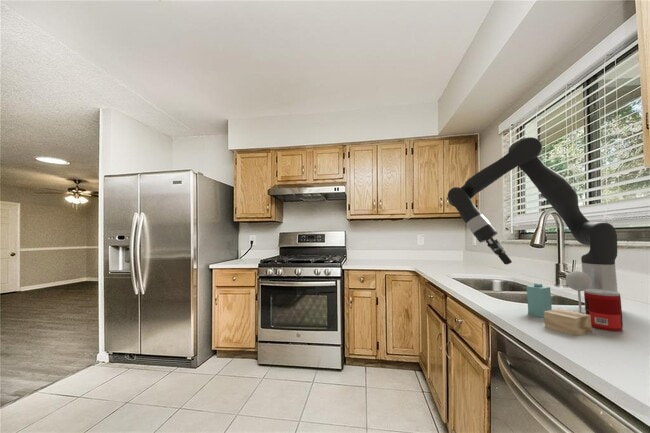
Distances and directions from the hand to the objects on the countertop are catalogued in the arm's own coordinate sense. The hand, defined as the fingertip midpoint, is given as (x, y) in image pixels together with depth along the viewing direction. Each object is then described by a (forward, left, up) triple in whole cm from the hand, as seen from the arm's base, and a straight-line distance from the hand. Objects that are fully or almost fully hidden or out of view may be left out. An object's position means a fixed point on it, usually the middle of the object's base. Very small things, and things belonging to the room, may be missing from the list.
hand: (508, 263), depth 103 cm
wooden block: (+4, +19, -18) cm, 27 cm away
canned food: (-8, +23, -18) cm, 30 cm away
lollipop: (-21, +12, -18) cm, 30 cm away
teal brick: (-5, +7, -18) cm, 20 cm away
